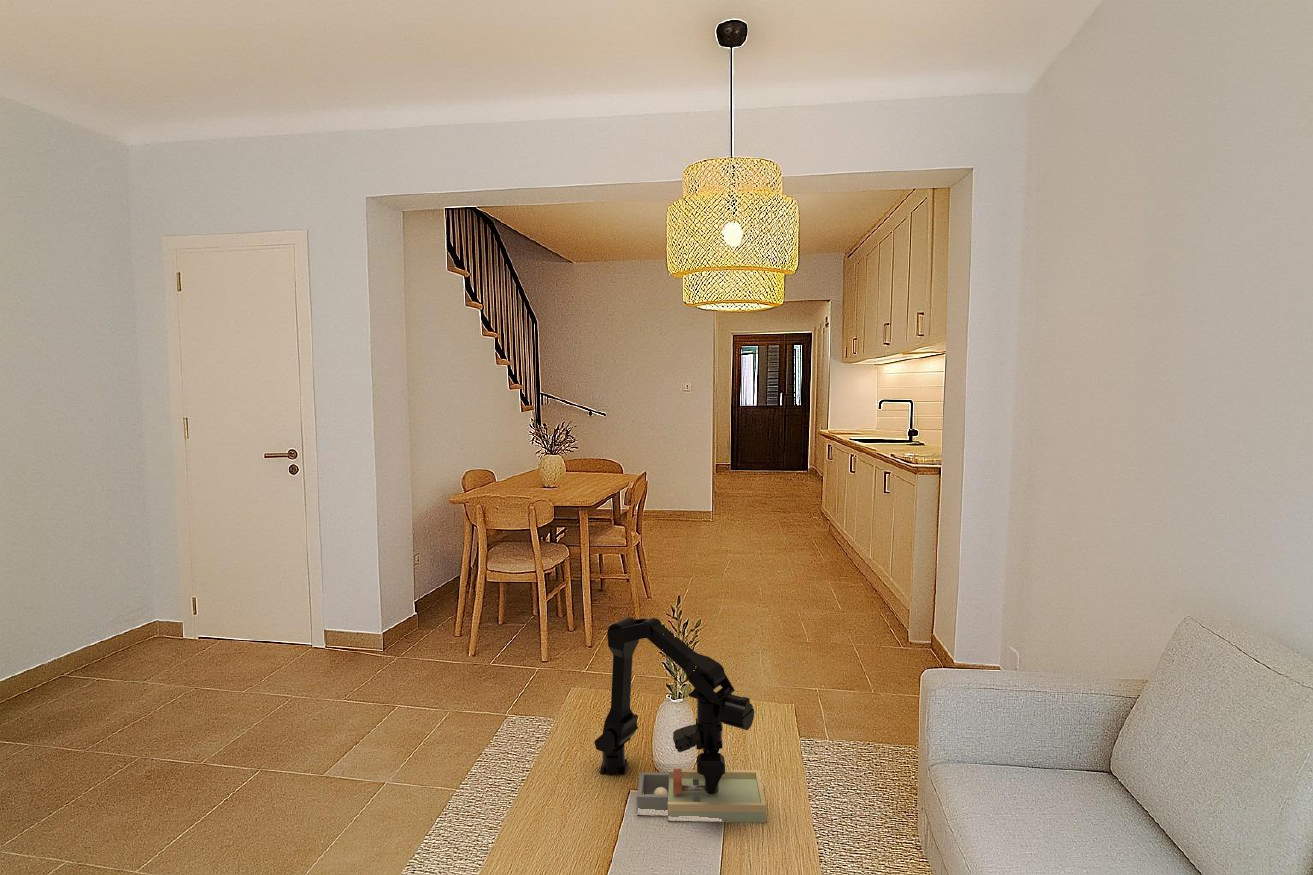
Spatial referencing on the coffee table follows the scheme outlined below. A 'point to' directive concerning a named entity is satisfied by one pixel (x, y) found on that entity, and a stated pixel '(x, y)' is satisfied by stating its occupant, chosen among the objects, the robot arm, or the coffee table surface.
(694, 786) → the kicker
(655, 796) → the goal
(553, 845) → the coffee table surface
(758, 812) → the tray
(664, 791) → the ball
